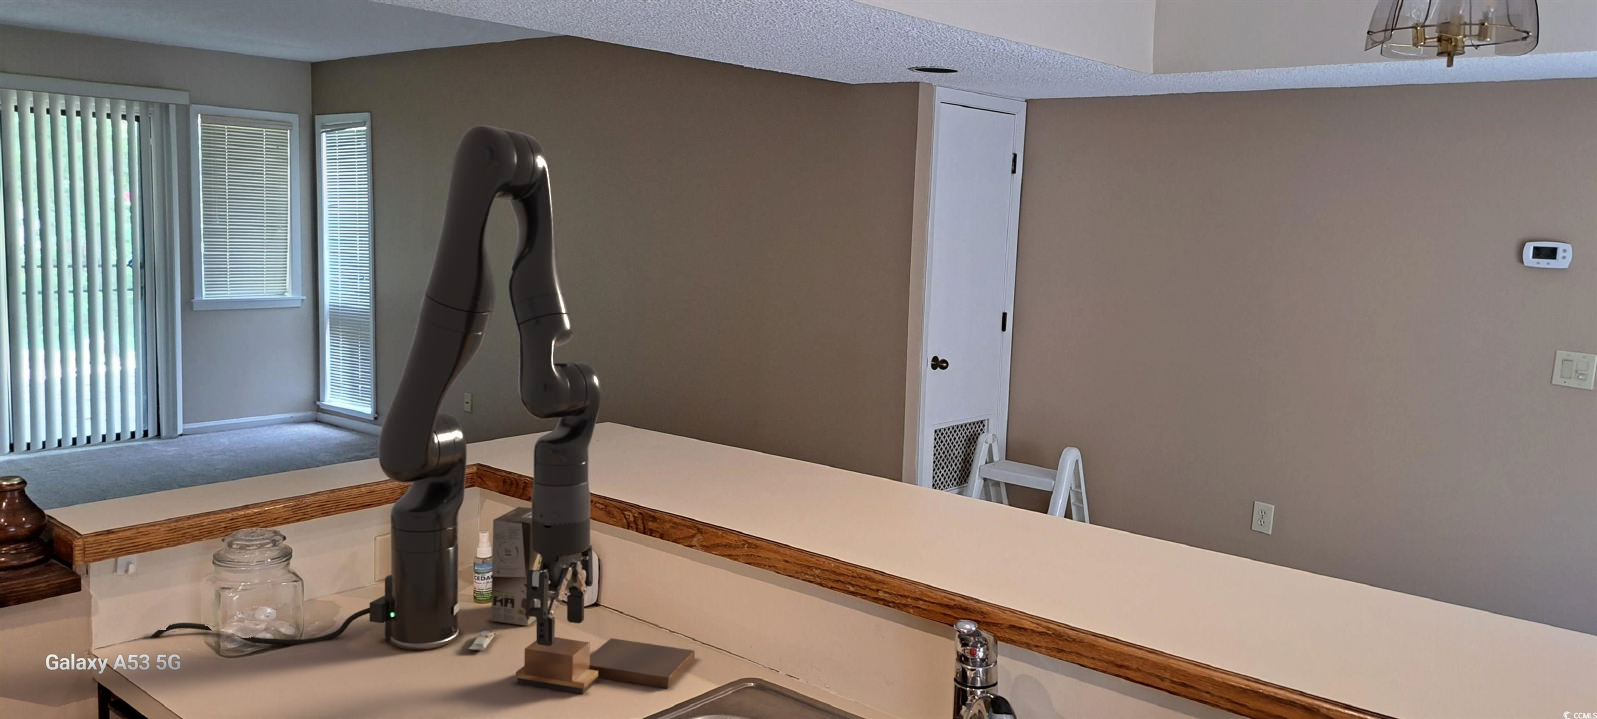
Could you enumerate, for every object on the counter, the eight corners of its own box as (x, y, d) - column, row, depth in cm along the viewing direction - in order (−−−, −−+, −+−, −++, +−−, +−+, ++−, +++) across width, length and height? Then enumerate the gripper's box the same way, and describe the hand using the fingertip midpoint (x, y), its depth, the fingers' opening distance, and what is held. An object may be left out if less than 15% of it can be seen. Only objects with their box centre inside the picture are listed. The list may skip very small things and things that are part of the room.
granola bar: (484, 653, 151) (484, 645, 151) (468, 652, 151) (468, 645, 151) (497, 635, 158) (497, 628, 157) (481, 634, 158) (481, 628, 157)
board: (579, 673, 145) (579, 663, 145) (610, 647, 155) (611, 637, 155) (668, 688, 142) (668, 677, 142) (694, 660, 152) (695, 650, 152)
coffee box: (529, 626, 162) (530, 523, 160) (489, 621, 163) (490, 518, 161) (554, 606, 171) (556, 508, 169) (517, 602, 172) (518, 504, 170)
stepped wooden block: (513, 684, 141) (514, 646, 141) (532, 669, 146) (533, 633, 146) (582, 695, 139) (583, 657, 138) (599, 680, 144) (600, 643, 143)
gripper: (560, 499, 148) (560, 612, 150) (507, 524, 134) (507, 648, 136) (610, 503, 146) (609, 618, 148) (561, 530, 132) (561, 656, 134)
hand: (560, 632), depth 142 cm, fingers open, 8 cm apart
